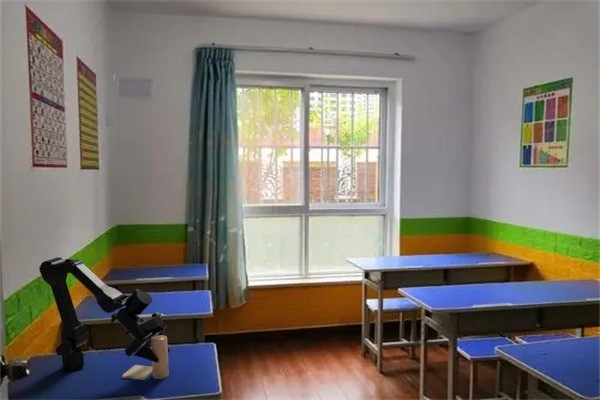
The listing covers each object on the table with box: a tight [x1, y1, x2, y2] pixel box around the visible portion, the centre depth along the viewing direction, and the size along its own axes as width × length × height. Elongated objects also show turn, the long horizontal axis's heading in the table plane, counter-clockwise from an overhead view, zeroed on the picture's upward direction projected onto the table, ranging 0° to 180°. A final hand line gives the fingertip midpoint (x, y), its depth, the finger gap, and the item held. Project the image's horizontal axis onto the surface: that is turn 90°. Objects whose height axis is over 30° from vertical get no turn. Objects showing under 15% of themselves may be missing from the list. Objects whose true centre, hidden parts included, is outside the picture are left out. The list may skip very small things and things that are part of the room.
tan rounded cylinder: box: [150, 334, 170, 380], centre depth 160 cm, size 5×5×13 cm
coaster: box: [121, 364, 153, 381], centre depth 162 cm, size 8×8×1 cm
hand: (163, 356), depth 160 cm, fingers open, 7 cm apart
